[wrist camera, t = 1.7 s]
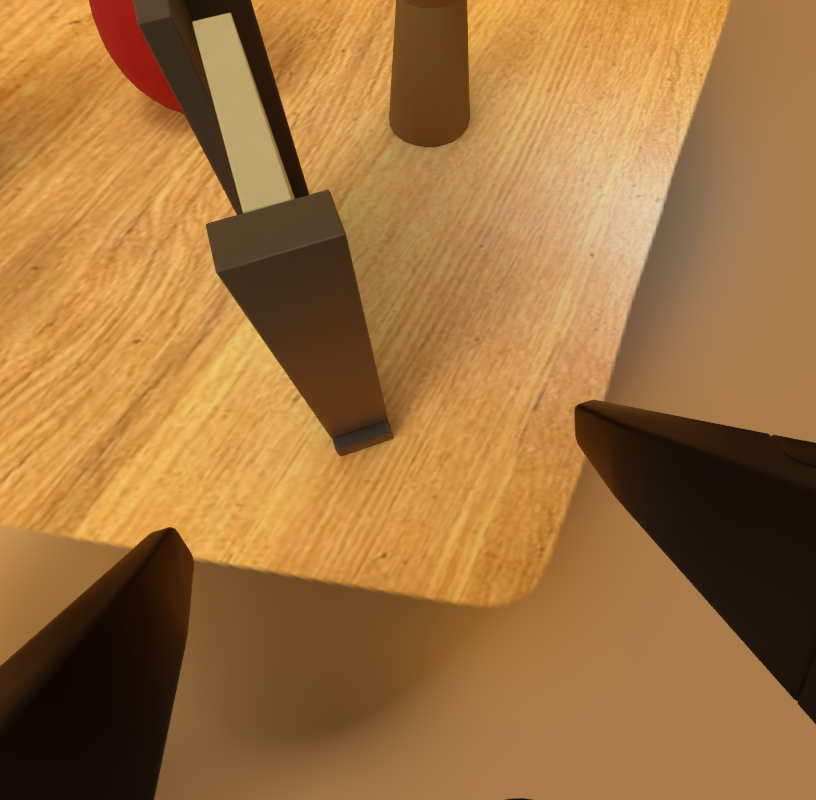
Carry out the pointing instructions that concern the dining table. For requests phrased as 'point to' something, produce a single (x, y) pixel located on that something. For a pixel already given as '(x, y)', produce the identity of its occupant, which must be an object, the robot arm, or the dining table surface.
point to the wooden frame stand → (184, 71)
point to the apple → (131, 49)
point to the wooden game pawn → (430, 71)
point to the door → (287, 253)
